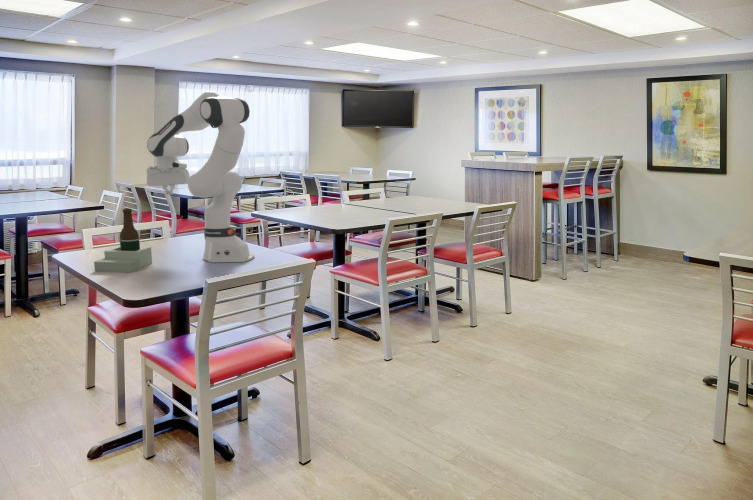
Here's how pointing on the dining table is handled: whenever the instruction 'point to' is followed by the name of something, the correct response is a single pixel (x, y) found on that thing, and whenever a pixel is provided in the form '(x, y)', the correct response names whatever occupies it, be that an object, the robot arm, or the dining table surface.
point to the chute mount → (123, 260)
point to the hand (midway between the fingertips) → (169, 194)
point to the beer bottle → (129, 233)
